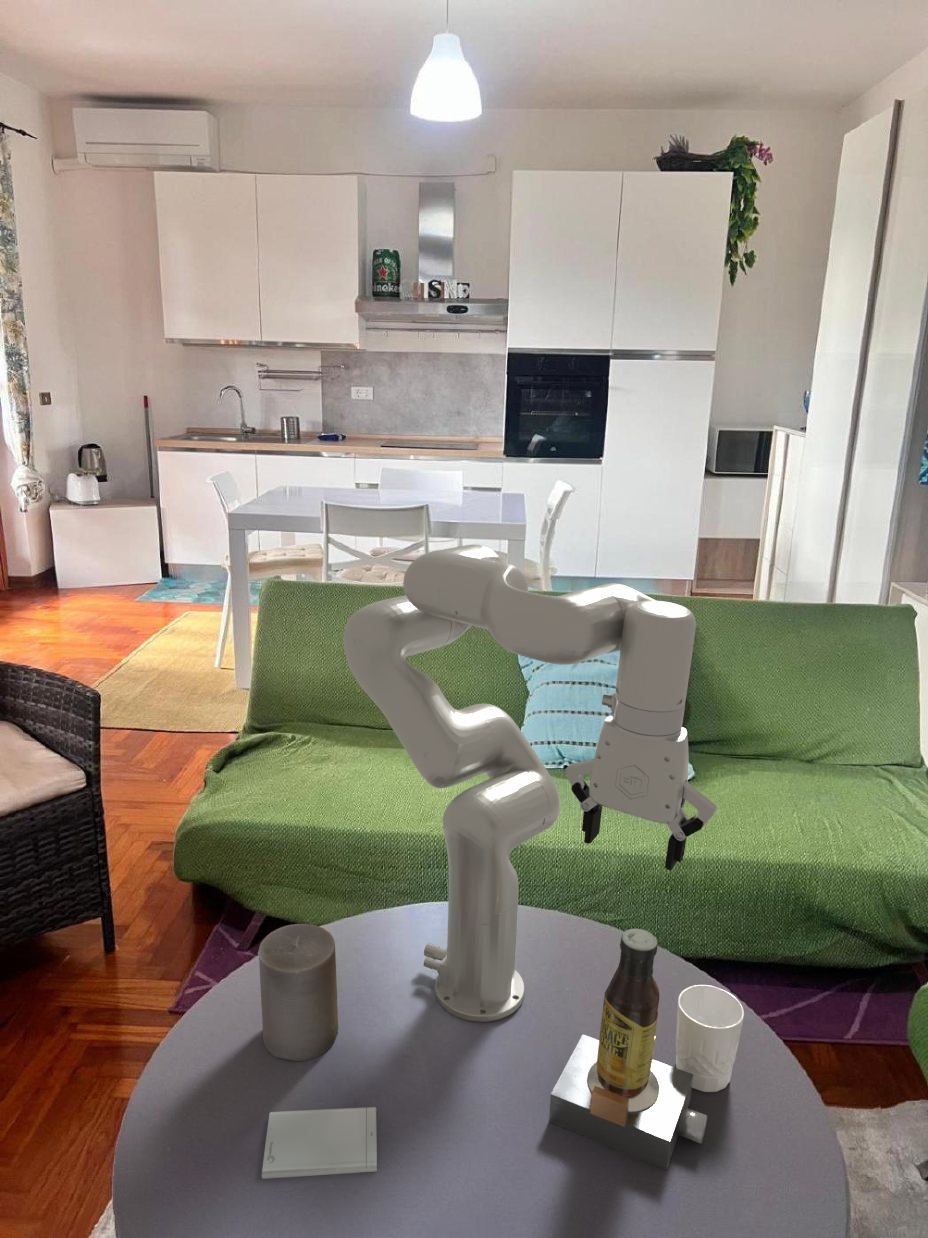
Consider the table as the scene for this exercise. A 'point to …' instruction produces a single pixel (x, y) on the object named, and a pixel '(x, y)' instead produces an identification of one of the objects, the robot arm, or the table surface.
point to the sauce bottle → (629, 1017)
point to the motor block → (626, 1108)
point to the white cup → (708, 1035)
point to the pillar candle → (298, 991)
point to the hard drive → (320, 1142)
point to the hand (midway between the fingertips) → (630, 851)
